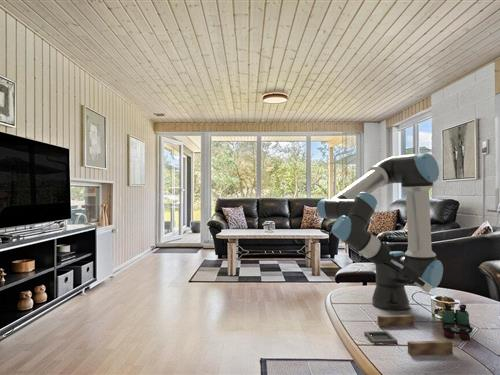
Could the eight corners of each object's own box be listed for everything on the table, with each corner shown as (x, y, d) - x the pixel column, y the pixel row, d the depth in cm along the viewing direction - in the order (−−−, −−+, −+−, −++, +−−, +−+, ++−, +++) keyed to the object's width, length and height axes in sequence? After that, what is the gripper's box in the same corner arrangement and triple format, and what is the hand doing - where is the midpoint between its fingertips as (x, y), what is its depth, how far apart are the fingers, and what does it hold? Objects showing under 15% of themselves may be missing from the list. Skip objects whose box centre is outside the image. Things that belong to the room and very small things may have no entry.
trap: (373, 344, 116) (372, 341, 116) (364, 334, 124) (364, 331, 124) (397, 343, 116) (397, 340, 116) (387, 333, 124) (387, 331, 124)
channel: (410, 355, 107) (409, 343, 107) (377, 325, 132) (377, 315, 132) (452, 354, 108) (452, 342, 108) (412, 324, 133) (412, 314, 133)
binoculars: (443, 311, 118) (439, 300, 127) (443, 342, 118) (440, 329, 127) (475, 314, 114) (469, 302, 123) (475, 346, 115) (469, 332, 124)
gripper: (360, 255, 126) (413, 293, 128) (375, 262, 113) (434, 304, 115) (371, 238, 127) (424, 275, 128) (388, 243, 114) (447, 284, 115)
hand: (429, 289), depth 121 cm, fingers closed
